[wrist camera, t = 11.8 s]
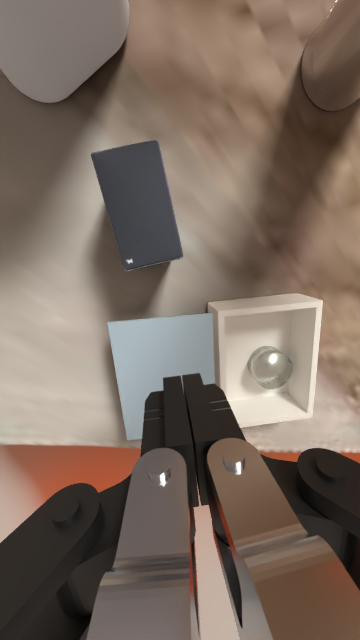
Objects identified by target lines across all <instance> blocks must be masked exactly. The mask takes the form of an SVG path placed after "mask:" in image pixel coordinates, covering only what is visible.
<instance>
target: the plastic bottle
mask: <svg viewBox="0 0 360 640" xmlns="http://www.w3.org/2000/svg"><path fill="white" fill-rule="evenodd" d="M128 25H129V4H128V0H0V69H1V70H2V72H3V73H4V74H5V76H6V77H7V78H8V79H9V81H10V82H11V83H12V84H13V85H14V86H15V87H16V88H17V89H18V90H19V91H20V92H22V93H23V94H25V95H26V96H28V97H29V98H32V99H34V100H36V101H39V102H45V103H54V102H59V101H61V100H64V99H65V98H67V97H68V96H69V95H70V94H72V93H73V92H74V91H75V90H76V89H77V88H78V87H79V86H80V85H81V84H82V83H84V82H85V81H86V80H87V79H88V78H89V77H90V76H91V75H92V74H93V73H94V72H96V71H97V70H98V69H99V68H100V67H101V66H102V65H103V64H104V63H105V62H107V61H108V60H109V59H110V58H111V57H112V56H113V55H114V54H115V53H116V52H117V51H118V50H119V49H120V47H121V46H122V44H123V42H124V40H125V37H126V35H127V31H128Z"/></svg>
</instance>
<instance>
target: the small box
mask: <svg viewBox="0 0 360 640" xmlns="http://www.w3.org/2000/svg"><path fill="white" fill-rule="evenodd" d="M91 157H92V160H93V164H94V167H95V171H96V174H97V178H98V181H99V185H100V188H101V192H102V195H103V199H104V202H105V206H106V210H107V213H108V216H109V220H110V223H111V227H112V230H113V234H114V237H115V241H116V245H117V248H118V251H119V255H120V258H121V262H122V265H123V269H124V270H125V271H126V272H128V271H131V270H135V269H139V268H143V267H148V266H152V265H156V264H160V263H165V262H168V261H173V260H177V259H181V258H183V252H182V248H181V243H180V238H179V234H178V229H177V225H176V220H175V215H174V211H173V206H172V201H171V197H170V192H169V187H168V183H167V178H166V173H165V169H164V164H163V159H162V154H161V150H160V145H159V141H158V140H152V141H146V142H141V143H136V144H131V145H126V146H122V147H117V148H112V149H108V150H103V151H98V152H94V153H91Z"/></svg>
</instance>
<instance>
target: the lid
mask: <svg viewBox="0 0 360 640" xmlns="http://www.w3.org/2000/svg"><path fill="white" fill-rule="evenodd" d="M107 324H108V330H109V336H110V342H111V347H112V353H113V359H114V365H115V371H116V377H117V383H118V389H119V395H120V401H121V407H122V413H123V419H124V425H125V431H126V437H127V440H136V439H142V432H143V421H144V407H145V400H146V399H147V397H148V396H149V394H150V393H151V392H155V391H163V378H164V377H172V376H180V375H181V380H182V375H187V374H194V373H200V375H201V378H202V381H203V384H204V385H207V384H214V383H215V368H214V343H213V318H212V313H203V314H192V315H181V316H170V317H158V318H147V319H136V320H125V321H114V322H108V323H107ZM182 386H183V382H182ZM183 392H184V391H183Z"/></svg>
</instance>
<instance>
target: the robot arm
mask: <svg viewBox="0 0 360 640" xmlns="http://www.w3.org/2000/svg"><path fill="white" fill-rule="evenodd" d="M301 72H302V81H303V86H304V88H305V91H306V93H307V95H308V97H309V98H310V100H311V101H312V102H313V103H314V104H315V105H316V106H318V107H320V108H321V109H323V110H328V111H338V110H341V109H344V108H346V107H348V106H349V105H351V104H352V103H354V102H355V101H356V100H358V99H359V98H360V0H337V1H336V3H335V4H334V6H333V7H332V8H331V10H330V11H329V12H328V14H327V15H326V16H325V18H324V19H323V21H322V22H321V23H320V25H319V26H318V27H317V29H316V30H315V32H314V33H313V34H312V36H311V37H310V39H309V41H308V43H307V45H306V47H305V50H304V54H303V58H302V66H301ZM182 382H183V386H182ZM183 391H184V392H183ZM196 477H197V481H196ZM197 483H198V489H199V495H200V501H201V505H209V508H210V513H211V518H212V527H213V536H214V540H215V544H216V548H217V552H218V556H219V559H220V563H221V567H222V571H223V575H224V579H225V582H226V586H227V590H228V594H229V598H230V602H231V605H232V609H233V613H234V617H235V621H236V625H237V629H238V633H239V637H240V640H360V464H359V463H358V462H355V461H353V460H351V459H349V458H347V457H345V456H343V455H341V454H339V453H336V452H334V451H331V450H327V449H322V448H312V449H308V450H306V451H304V452H302V453H301V455H300V456H299V458H298V461H297V462H291V461H284V460H277V459H272V458H269V457H266V456H263V455H261V454H260V453H259V452H258V451H257V449H256V448H255V447H254V446H253V445H251V444H250V443H248V442H247V441H246V440H245V437H244V435H243V433H242V431H241V429H240V426H239V424H238V422H237V420H236V418H235V415H234V413H233V411H232V409H231V407H230V404H229V402H228V401H227V398H226V396H225V393H224V391H223V390H222V389H221V388H220V387H218V386H217V385H216V384H215V383H214V384H207V385H204V384H203V381H202V378H201V375H200V373H194V374H187V375H182V380H181V375H180V376H172V377H164V378H163V391H155V392H151V393H150V394H149V396H148V397H147V399H146V400H145V407H144V421H143V432H142V445H141V456H140V458H139V460H138V461H137V462H136V464H135V466H134V468H133V471H132V473H131V475H130V476H128V477H127V478H126V479H125V480H123V481H122V482H120V483H118V484H117V485H115V486H113V487H111V488H108V489H106V490H104V491H102V492H100V493H98V492H97V490H96V489H95V488H94V487H92V486H91V485H89V484H85V483H78V484H73V485H70V486H67V487H65V488H63V489H61V490H60V491H58V492H57V493H55V494H54V495H53V496H52V497H51V498H49V499H48V500H47V501H46V502H45V503H44V504H43V505H42V506H40V507H39V508H38V509H37V510H36V511H35V512H34V513H33V514H32V515H31V516H30V517H28V518H27V519H26V520H25V521H24V522H23V523H22V524H21V525H20V526H19V527H18V528H16V529H15V530H14V531H13V532H12V533H11V534H10V535H9V536H8V537H7V538H6V539H4V540H3V541H2V542H1V543H0V640H201V636H200V620H199V603H198V587H197V574H196V573H197V571H196V555H195V540H194V537H195V531H196V529H195V518H194V509H193V507H198V506H199V501H198V491H197Z"/></svg>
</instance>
